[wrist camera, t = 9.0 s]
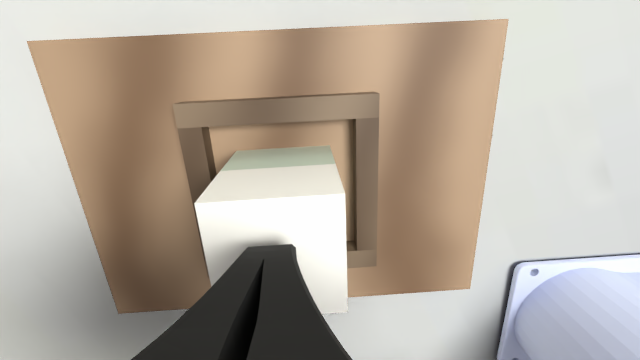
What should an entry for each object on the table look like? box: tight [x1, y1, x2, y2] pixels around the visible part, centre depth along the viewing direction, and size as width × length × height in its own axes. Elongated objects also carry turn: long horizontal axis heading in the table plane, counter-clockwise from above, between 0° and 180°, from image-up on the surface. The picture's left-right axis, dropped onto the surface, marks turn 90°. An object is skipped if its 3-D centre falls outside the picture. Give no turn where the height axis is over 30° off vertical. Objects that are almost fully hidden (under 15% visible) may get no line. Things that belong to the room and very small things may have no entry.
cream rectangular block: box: [194, 145, 348, 314], centre depth 13 cm, size 4×4×6 cm
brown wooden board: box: [27, 19, 508, 314], centre depth 15 cm, size 20×14×2 cm
